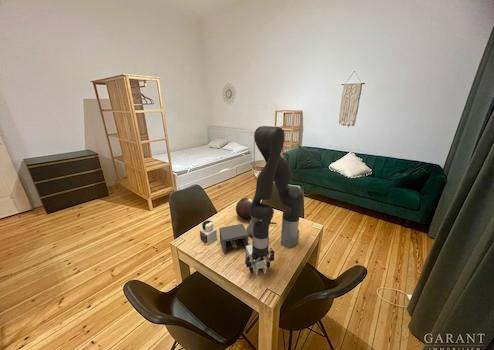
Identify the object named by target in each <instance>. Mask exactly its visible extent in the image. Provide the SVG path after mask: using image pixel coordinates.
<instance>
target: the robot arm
mask: <svg viewBox="0 0 494 350" xmlns="http://www.w3.org/2000/svg"><path fill="white" fill-rule="evenodd" d="M253 136H254V138H253V139H254V144H255V145H256V147H257V149H258V151H259V152H260V154H261V156H262V158H263V159H264V161H265V165H264V167H263V168H262V169H261V171H260V172H259V174H258V176H257V179H256V184H255V185H256V186H255V193H254V196H253V199H252V200H253V201H252V204H251V206H250V209H249V213H250V215H251V216H252V217H253V218H256V219H259V220H261V221H256V222H255V223H254V225H253V237H252V238H251V239H252V243H251V245H252V254H251V255H248V254H246V253H245V260H244V262H245V266H246V268H247V269H248V270H249V272H250V273H251V274H253V273H254V270H253V266H254V265H255V264H256V263H257V262H259V261H264V262H265V264H266V269H270V267H271V263H272V262H274V261H275V250H274V249H273V248H272V247H271V248H269V244H270V241H269V240H270V237H269V235H270V234H269V233H270V231H269V229H270V225H271V224H270V222H272V219H273V218H274V217H273V216H274V213H275V210H274V208H273V206H272V205H269V204H265V203H262V201H269V200H271V199H272V196H273V189H274V185H275V187H276V190H277V193H278V197H279V200H280V203H281V204H282V205H283V206H284V207H288V209H285V210H284V211H282V217H281V231H280V232H281V233H280V245H282V246H283V247H284V248H287V249H292V248H293V249H294V248H295V247H296V246H297V245H299V238H300V229H299V226H300V225H299V224H300V216H301V213H302V206H303V201H304V195H303V194H302V193H301V192H298V191H296V190H292V189H290V187H289V184H290V182H291V181H292V179H293V174H292V170H291V167H290V165H289V163H288V162H287V161H286V159H285V158H284V157H282V156H281V155H282V151H283V147H284V144H285V143H284V142H285V137H286V136H285V132H284V130H283V128H282V127H280V126H270V125H263V126H262V125H261V126H259V127H257V128H256V129H255V131H254V135H253ZM289 208H290V209H289ZM250 259H251V261H250ZM254 260H255V261H254Z"/></svg>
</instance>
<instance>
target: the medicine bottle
mask: <svg viewBox="0 0 494 350" xmlns="http://www.w3.org/2000/svg"><path fill="white" fill-rule="evenodd" d="M201 225H202V228H201V229H199V236H200V237H199V239H200V241H202V242H203V243H205V245H210V244H211V243H213V242H214V241H216V240H218V235H217V233H218V232H217V229H216V228H215V227H214V223H213V220H209V219H208V220H205V221H203V222H202V224H201Z"/></svg>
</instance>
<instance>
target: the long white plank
mask: <svg viewBox="0 0 494 350" xmlns="http://www.w3.org/2000/svg"><path fill="white" fill-rule="evenodd" d="M246 254H248V255H251V254H252V244H248V246H246V247H245V255H246ZM250 261H251V259H250ZM254 261H255V260H254ZM259 269H261V270H262V272H263V273H264V274H267V267H266V261H265V260H264V261H259V262H257V263H256V264H255V265H254V266H253V273H254V274H255V276H259Z"/></svg>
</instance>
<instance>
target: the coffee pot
mask: <svg viewBox="0 0 494 350" xmlns="http://www.w3.org/2000/svg"><path fill="white" fill-rule="evenodd" d="M256 221H262V220H259V219H256V218H253V217H252V216H251V219H250V222H249V223H248V225H247V227H246V231H247V233H248V236H251V237H252V238H253V225H254V223H255V222H256ZM270 225H274V227H277V222H274V221H271V222H270Z"/></svg>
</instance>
